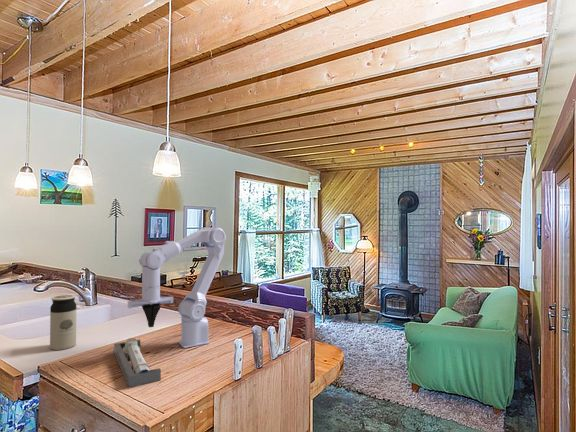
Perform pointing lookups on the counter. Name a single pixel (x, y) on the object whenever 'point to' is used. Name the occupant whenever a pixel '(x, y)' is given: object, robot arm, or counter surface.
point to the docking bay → (128, 372)
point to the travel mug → (63, 322)
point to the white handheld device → (135, 356)
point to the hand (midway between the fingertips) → (150, 326)
